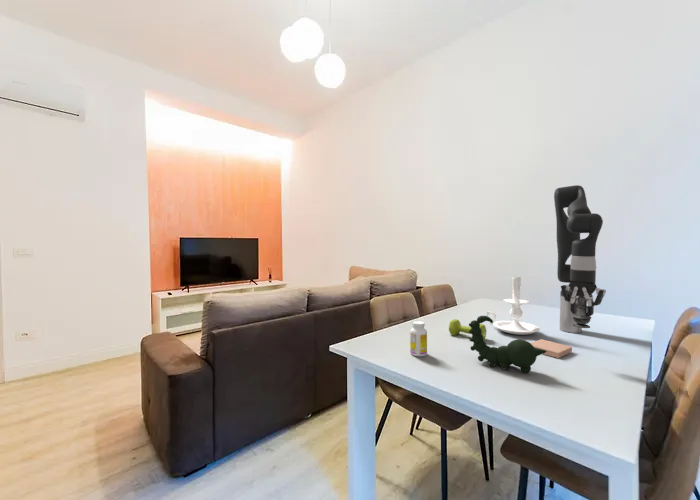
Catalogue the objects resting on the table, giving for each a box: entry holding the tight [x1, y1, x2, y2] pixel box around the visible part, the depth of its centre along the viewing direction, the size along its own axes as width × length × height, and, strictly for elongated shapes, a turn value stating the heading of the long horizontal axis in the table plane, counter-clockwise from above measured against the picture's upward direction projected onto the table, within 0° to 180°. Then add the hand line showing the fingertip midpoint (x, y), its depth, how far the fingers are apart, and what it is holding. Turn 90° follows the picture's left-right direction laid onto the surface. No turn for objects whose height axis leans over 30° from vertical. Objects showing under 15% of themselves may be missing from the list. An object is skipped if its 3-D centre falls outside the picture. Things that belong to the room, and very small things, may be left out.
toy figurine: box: [468, 315, 546, 374], centre depth 116 cm, size 9×19×25 cm
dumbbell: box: [448, 318, 487, 340], centre depth 152 cm, size 16×8×7 cm, turn 45°
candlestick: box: [485, 275, 541, 336], centre depth 160 cm, size 21×25×28 cm
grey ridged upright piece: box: [572, 296, 592, 329], centre depth 119 cm, size 6×6×12 cm
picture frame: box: [529, 338, 573, 359], centre depth 133 cm, size 2×12×12 cm
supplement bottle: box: [409, 320, 428, 358], centre depth 129 cm, size 7×7×13 cm
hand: (581, 314), depth 119 cm, fingers closed on grey ridged upright piece, 4 cm apart
